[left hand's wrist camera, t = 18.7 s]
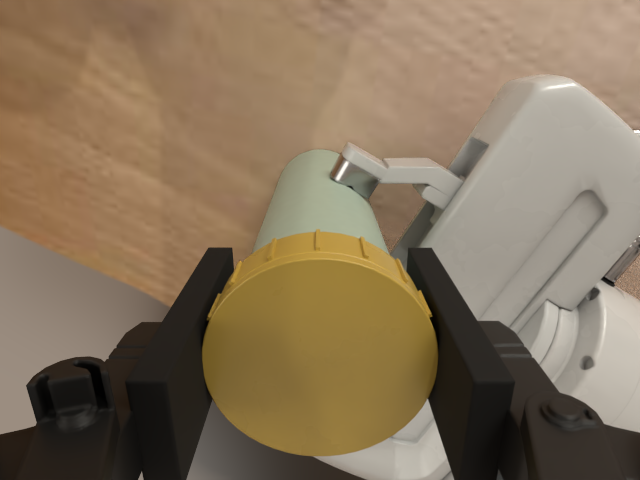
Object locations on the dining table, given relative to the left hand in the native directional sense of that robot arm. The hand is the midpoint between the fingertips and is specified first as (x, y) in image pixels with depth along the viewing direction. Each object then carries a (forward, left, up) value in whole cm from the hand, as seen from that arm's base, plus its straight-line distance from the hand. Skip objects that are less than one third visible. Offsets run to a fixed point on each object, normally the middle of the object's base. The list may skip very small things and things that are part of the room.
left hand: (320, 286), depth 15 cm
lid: (0, 0, +4) cm, 4 cm away
